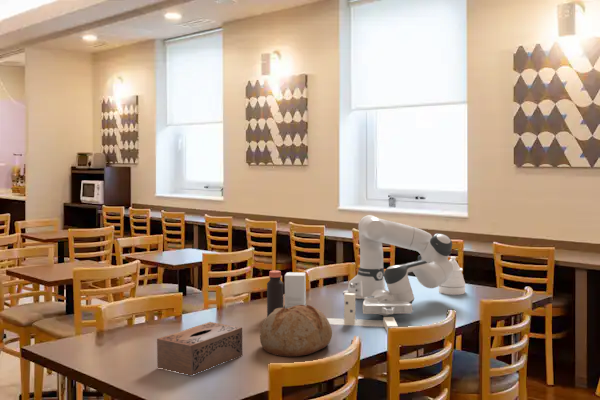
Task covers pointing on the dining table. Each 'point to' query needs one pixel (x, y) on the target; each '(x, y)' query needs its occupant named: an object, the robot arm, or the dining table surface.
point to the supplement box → (295, 289)
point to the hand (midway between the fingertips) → (389, 312)
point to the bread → (295, 331)
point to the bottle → (274, 292)
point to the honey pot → (454, 281)
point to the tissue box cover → (199, 348)
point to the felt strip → (357, 322)
